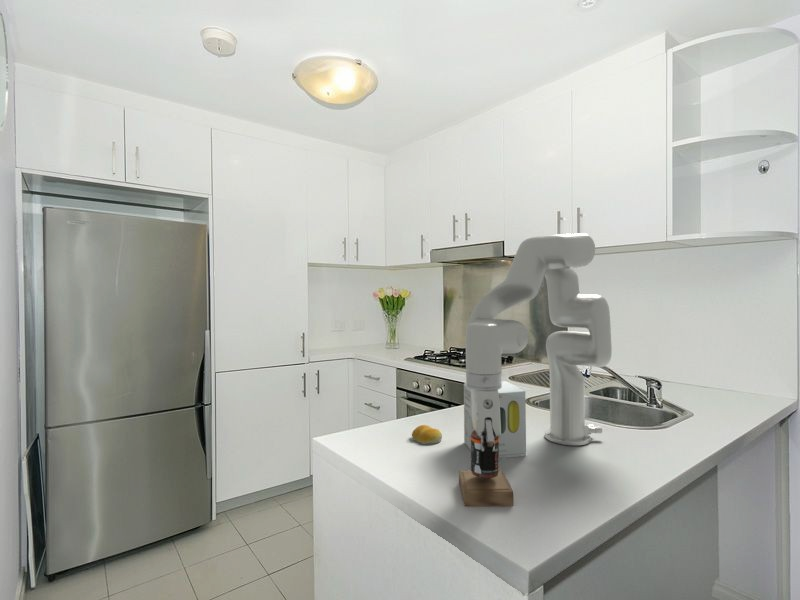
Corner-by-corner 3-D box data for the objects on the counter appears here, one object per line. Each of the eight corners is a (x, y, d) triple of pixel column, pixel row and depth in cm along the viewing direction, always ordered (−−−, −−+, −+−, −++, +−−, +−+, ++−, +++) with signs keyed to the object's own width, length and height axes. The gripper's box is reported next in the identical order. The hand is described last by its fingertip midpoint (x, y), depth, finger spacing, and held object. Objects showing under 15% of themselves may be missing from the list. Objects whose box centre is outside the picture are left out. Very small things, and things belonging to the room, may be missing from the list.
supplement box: (479, 460, 111) (478, 393, 110) (463, 442, 124) (462, 382, 123) (527, 456, 113) (526, 390, 113) (506, 439, 126) (506, 380, 126)
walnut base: (503, 483, 97) (502, 469, 97) (513, 506, 87) (513, 490, 87) (459, 483, 98) (458, 470, 98) (464, 506, 88) (464, 490, 88)
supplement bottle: (481, 482, 89) (480, 428, 88) (465, 471, 94) (464, 420, 94) (504, 476, 91) (504, 423, 91) (488, 466, 96) (487, 416, 96)
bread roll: (428, 447, 121) (428, 433, 121) (407, 439, 128) (407, 426, 128) (448, 440, 126) (448, 427, 126) (427, 433, 133) (427, 420, 133)
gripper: (510, 389, 83) (511, 480, 84) (493, 371, 101) (494, 447, 101) (471, 389, 84) (473, 480, 84) (461, 372, 101) (462, 448, 101)
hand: (484, 461), depth 93 cm, fingers closed on supplement bottle, 6 cm apart
